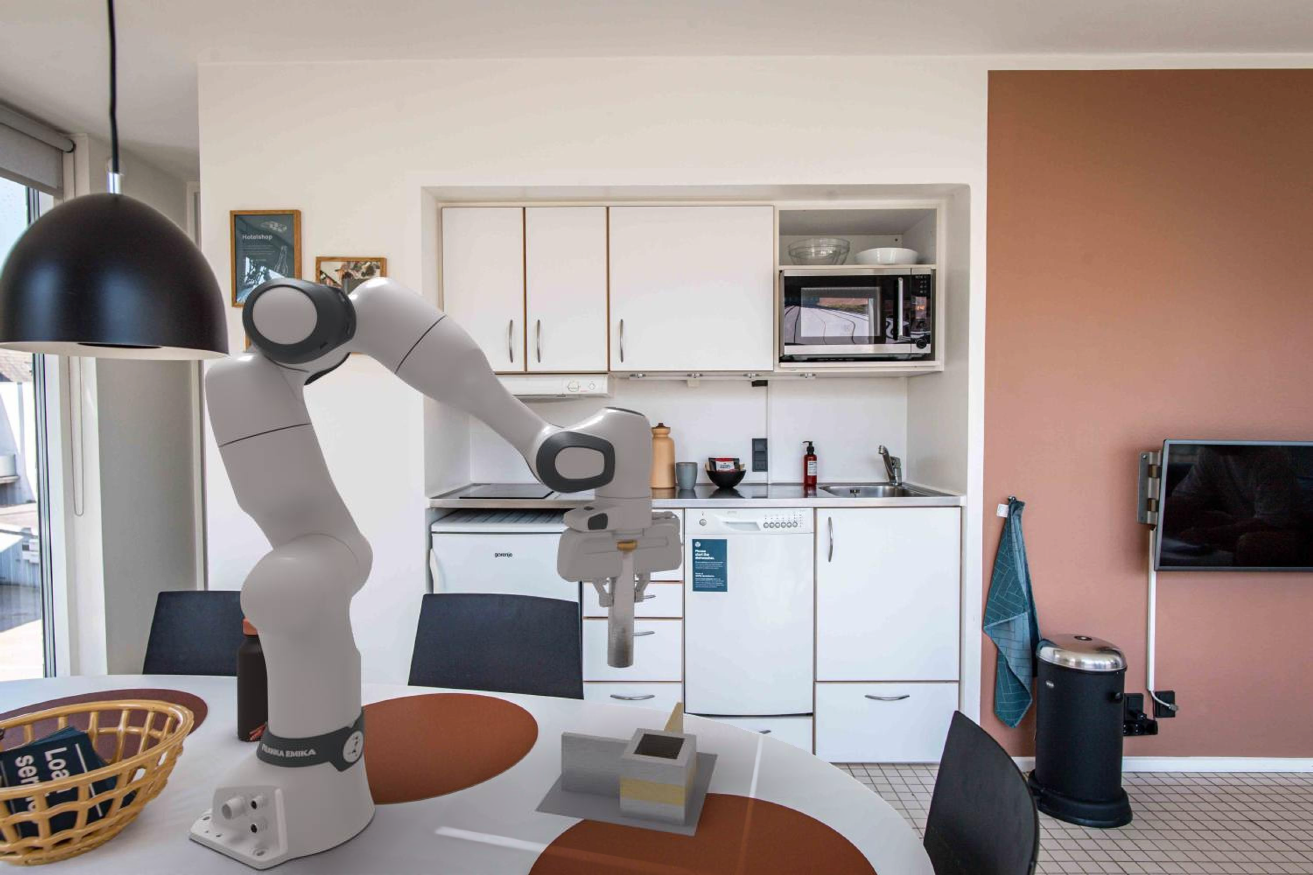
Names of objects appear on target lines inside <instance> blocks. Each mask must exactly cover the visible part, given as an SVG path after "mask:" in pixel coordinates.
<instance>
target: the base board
mask: <svg viewBox="0 0 1313 875" xmlns="http://www.w3.org/2000/svg"><path fill="white" fill-rule="evenodd" d="M717 758H718V754H717V753H716V754H715V753H707V752H700V751H696V791H695V794H694V797H693V801H692V804H691V807H690V810H689V813H688V816H687V820H686V823H685V826H677V825H671V824H665V823H658V822H652V821H646V820H639V819H633V818H626V817H620V799H618V798H611V797H604V796H598V795H591V794H584V793H578V792H571V791H564V790H561V774H560V775H559V776H558V778H557V779H556V780H555V782H554V783H553V785H552V786H551V787H550V789H549V790H548V792H546V795H545V796H544V797H543V799H542V800H541V802H539V804H538V806H537V807H536V809H534V811H535V812H539V813H543V814H544V813H545V814H551V815H552V814H553V815H557V816H563V817H564V816H565V817H568V818H569V817H570V818H577V819H582V820H589V821H595V822H601V823H606V824H607V823H608V824H614V825H620V826H626V827H627V826H628V827H632V828H640V829H645V830H646V829H647V830H653V831H657V832H663V833H664V832H665V833H669V834H678V835H683V836H687V837H688V836H689V837H695V834H696V831H697V828H698V825H699V821H700V817H701V813H702V812H703V811H702V809H703V807H704V803H705V801H706V797H707V792H708V790H709V786H710V783H711V782H710V781H711V780H712V779H711V778H712V775H713V771H714V768H715V764H716V762H717Z"/></svg>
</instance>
